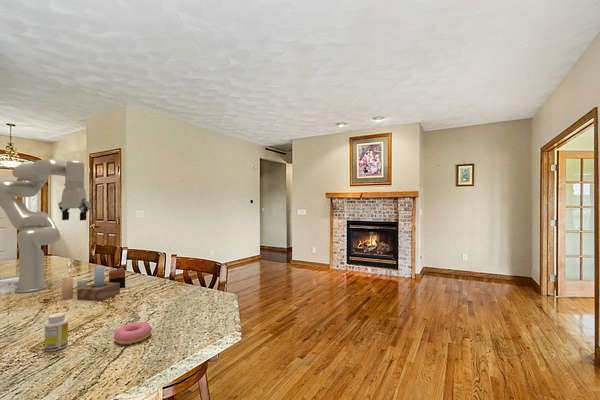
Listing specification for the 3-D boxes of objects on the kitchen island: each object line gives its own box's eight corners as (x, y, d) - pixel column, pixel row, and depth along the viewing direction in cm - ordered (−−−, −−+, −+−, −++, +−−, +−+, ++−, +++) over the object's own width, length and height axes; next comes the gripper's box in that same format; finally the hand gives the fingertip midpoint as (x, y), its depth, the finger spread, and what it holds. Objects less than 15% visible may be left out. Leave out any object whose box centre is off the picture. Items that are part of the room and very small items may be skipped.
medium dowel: (59, 299, 135) (60, 280, 135) (67, 296, 139) (67, 277, 139) (67, 300, 135) (67, 280, 135) (75, 297, 139) (75, 278, 139)
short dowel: (75, 294, 143) (75, 282, 143) (82, 291, 147) (82, 279, 147) (82, 294, 143) (82, 282, 143) (89, 292, 147) (89, 280, 147)
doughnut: (136, 348, 91) (136, 334, 91) (105, 345, 93) (105, 332, 93) (158, 332, 102) (158, 320, 102) (129, 330, 103) (129, 318, 104)
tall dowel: (91, 297, 139) (92, 267, 139) (98, 294, 143) (99, 266, 143) (99, 297, 138) (100, 268, 138) (106, 295, 142) (106, 266, 142)
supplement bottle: (65, 341, 94) (65, 310, 95) (69, 347, 91) (70, 314, 91) (42, 348, 90) (43, 315, 90) (46, 354, 87) (46, 319, 87)
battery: (125, 287, 155) (125, 268, 155) (110, 289, 151) (110, 270, 151) (123, 285, 159) (123, 267, 159) (108, 288, 154) (108, 269, 154)
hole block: (77, 299, 135) (77, 288, 135) (98, 291, 147) (98, 281, 147) (100, 300, 134) (100, 289, 134) (119, 292, 146) (119, 282, 146)
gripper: (52, 185, 142) (51, 220, 142) (84, 185, 140) (83, 220, 140) (66, 186, 150) (65, 219, 150) (96, 186, 148) (96, 220, 148)
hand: (74, 220), depth 145 cm, fingers open, 9 cm apart
